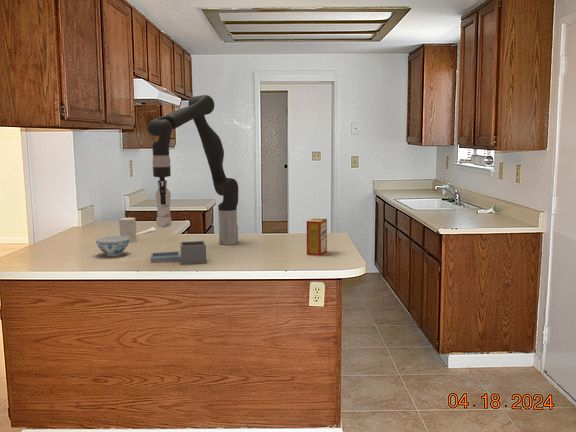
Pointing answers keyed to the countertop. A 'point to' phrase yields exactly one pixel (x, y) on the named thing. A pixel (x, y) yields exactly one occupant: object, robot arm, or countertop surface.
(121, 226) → the cup
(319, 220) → the baking soda box
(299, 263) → the countertop surface
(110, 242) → the chinaware
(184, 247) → the holder
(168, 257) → the tray
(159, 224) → the plastic bottle
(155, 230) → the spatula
